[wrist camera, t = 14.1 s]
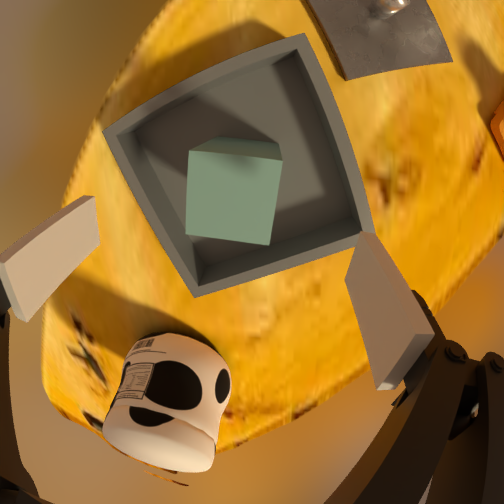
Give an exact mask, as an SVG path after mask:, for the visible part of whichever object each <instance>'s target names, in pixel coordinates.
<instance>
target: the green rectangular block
mask: <svg viewBox="0 0 504 504" xmlns="http://www.w3.org/2000/svg"><path fill="white" fill-rule="evenodd" d="M282 163H283V159H282V155H281V151H280V146H279V144H278V143H271V142H264V141H256V140H248V139H239V138H229V137H219V136H217V137H215V138H213V139H211V140H209V141H207V142H205V143H203V144H201V145H199V146H197V147H195V148H193V149H191V150H189V157H188V174H187V195H186V232H185V234H188V235H195V236H203V237H210V238H218V239H225V240H232V241H240V242H247V243H254V244H261V245H269V244H270V238H271V232H272V226H273V220H274V214H275V207H276V201H277V195H278V189H279V182H280V176H281V170H282Z"/></svg>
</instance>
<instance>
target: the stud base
mask: <svg viewBox="0 0 504 504" xmlns="http://www.w3.org/2000/svg"><path fill="white" fill-rule="evenodd" d="M306 2H307V3H308V5H309V7H310V9H311V10H312V12H313V14H314V16H315V18H316V19H317V21H318V23H319V25H320V27H321V29H322V31H323V33H324V35H325V37H326V39H327V41H328V43H329V45H330V47H331V49H332V51H333V53H334V55H335V58H336V60H337V62H338V64H339V67H340V69H341V71H342V73H343V76H344V78H345V81H348V80H352V79H356V78H360V77H364V76H369V75H373V74H378V73H382V72H387V71H392V70H398V69H404V68H410V67H416V66H423V65H430V64H439V63H448V62H453V60H452V57H451V54H450V52H449V49H448V47H447V44H446V42H445V39H444V37H443V35H442V32H441V30H440V28H439V26H438V23H437V21H436V19H435V17H434V15H433V13H432V11H431V9H430V7H429V5H428V3H427V2H426V0H306Z"/></svg>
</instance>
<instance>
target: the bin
mask: <svg viewBox="0 0 504 504" xmlns="http://www.w3.org/2000/svg"><path fill="white" fill-rule="evenodd" d="M102 132H103V134H104V136H105V139H106V141H107V143H108V145H109V147H110V149H111V151H112V153H113V155H114V157H115V159H116V161H117V163H118V165H119V167H120V169H121V171H122V173H123V175H124V177H125V179H126V181H127V183H128V185H129V187H130V189H131V191H132V193H133V194H134V196H135V198H136V200H137V202H138V204H139V206H140V207H141V209H142V211H143V213H144V215H145V217H146V218H147V220H148V222H149V224H150V225H151V227H152V229H153V231H154V232H155V234H156V236H157V238H158V239H159V241H160V243H161V245H162V246H163V248H164V250H165V251H166V253H167V255H168V256H169V258H170V260H171V261H172V263H173V265H174V266H175V268H176V270H177V271H178V273H179V274H180V276H181V278H182V279H183V281H184V282H185V284H186V286H187V287H188V289H189V290H190V292H191V293H192V295H193V297H194V298H196V297H200V296H203V295H206V294H210V293H213V292H216V291H219V290H223V289H226V288H229V287H232V286H236V285H239V284H242V283H245V282H249V281H252V280H255V279H258V278H261V277H264V276H267V275H271V274H274V273H277V272H280V271H283V270H286V269H289V268H292V267H295V266H298V265H301V264H304V263H307V262H311V261H314V260H317V259H320V258H322V257H325V256H328V255H331V254H334V253H337V252H340V251H343V250H346V249H349V248H352V247H355V246H356V244H357V241H358V237H359V234H360V231H364V232H369V233H374V234H375V229H374V225H373V220H372V216H371V212H370V208H369V204H368V200H367V196H366V192H365V189H364V185H363V182H362V178H361V175H360V171H359V168H358V164H357V161H356V158H355V155H354V152H353V149H352V146H351V143H350V140H349V137H348V134H347V131H346V128H345V125H344V122H343V120H342V117H341V114H340V112H339V109H338V106H337V104H336V101H335V99H334V96H333V94H332V91H331V89H330V87H329V84H328V82H327V79H326V77H325V75H324V73H323V70H322V68H321V66H320V64H319V62H318V59H317V57H316V55H315V53H314V51H313V49H312V47H311V45H310V43H309V41H308V39H307V37H306V35H305V33H302V34H298V35H295V36H291V37H288V38H285V39H282V40H278V41H275V42H272V43H269V44H266V45H264V46H261V47H258V48H255V49H253V50H250V51H247V52H245V53H242V54H240V55H237V56H235V57H232V58H230V59H228V60H225V61H223V62H221V63H218V64H216V65H214V66H212V67H210V68H208V69H205V70H203V71H201V72H199V73H197V74H195V75H193V76H191V77H189V78H187V79H185V80H183V81H181V82H180V83H178V84H176V85H174V86H172V87H170V88H169V89H167V90H165V91H163V92H162V93H160V94H158V95H156V96H155V97H153V98H151V99H150V100H148V101H146V102H145V103H143V104H142V105H140V106H138V107H137V108H135V109H134V110H132V111H131V112H129V113H128V114H126V115H125V116H123V117H122V118H120V119H119V120H117V121H116V122H115V123H113V124H112V125H110V126H109V127H108V128H106V129H105V130H103V131H102ZM217 136H219V137H229V138H239V139H248V140H256V141H264V142H271V143H278V144H279V146H280V151H281V155H282V159H283V163H282V170H281V176H280V182H279V189H278V195H277V201H276V207H275V214H274V220H273V226H272V232H271V238H270V244H269V245H261V244H254V243H247V242H240V241H232V240H225V239H218V238H210V237H203V236H195V235H188V234H185V232H186V195H187V174H188V157H189V150H191V149H193V148H195V147H197V146H199V145H201V144H203V143H205V142H207V141H209V140H211V139H213V138H215V137H217ZM375 235H376V234H375Z"/></svg>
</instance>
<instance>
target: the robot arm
mask: <svg viewBox="0 0 504 504" xmlns="http://www.w3.org/2000/svg"><path fill="white" fill-rule="evenodd" d="M99 245H100V238H99V231H98V223H97V215H96V205H95V196H82V197H80V198H79V199H77V200H75V201H74V202H72V203H71V204H69V205H68V206H66V207H64V208H63V209H61V210H60V211H58V212H57V213H55V214H54V215H52V216H51V217H49V218H48V219H46V220H45V221H44V222H42V223H41V224H39V225H38V226H37V227H35V228H34V229H32V230H31V231H30V232H28V233H27V234H26V235H24V236H23V237H22V238H20V239H19V240H18V241H16V242H15V243H14V244H13V245H11V246H10V247H9V248H7V249H6V250H5V251H4V252H3V253H1V254H0V504H53V503H51V502H48V501H46V500H43V499H41V498H40V497H39V495H38V492H37V489H36V486H35V484H34V481H33V480H32V478H31V476H30V475H29V473H28V472H27V471H26V469H25V468H24V466H23V464H22V462H21V459H20V455H19V450H18V445H17V440H16V435H15V429H14V423H13V416H12V407H11V397H10V385H9V327H10V315H9V313H8V311H7V310H8V309H9V308H10V307H12V309H13V311H14V313H15V315H16V317H17V318H19V319H21V320H23V321H25V322H28V321H29V320H30V319H31V317H32V316H33V315H34V314H35V313H36V311H37V310H38V309H39V308H40V307H41V306H42V304H43V303H44V302H45V301H46V300H47V299H48V298H49V296H50V295H51V294H52V293H53V292H54V291H55V290H56V289H57V288H58V286H59V285H60V284H61V283H62V282H63V281H64V280H65V279H66V278H67V277H68V276H69V275H70V274H71V273H72V272H73V270H74V269H75V268H76V267H77V266H78V265H79V264H80V263H81V262H82V261H83V260H84V259H85V258H86V257H87V256H88V255H89V254H90V253H91V252H92V251H93V250H94V249H95V248H96V247H97V246H99ZM345 283H346V286H347V289H348V292H349V295H350V298H351V301H352V304H353V307H354V310H355V314H356V317H357V320H358V324H359V327H360V330H361V334H362V337H363V341H364V344H365V348H366V351H367V355H368V359H369V363H370V366H371V370H372V374H373V378H374V382H375V386H376V390H390V389H391V390H392V389H396V387H397V386H398V384H400V382H401V381H402V380H404V383H405V386H406V388H405V390H404V391H403V392H402V393H401V394H400V395H399V396H398V398H397V399H396V400H395V401H394V402H393V403H392V404H391V405H392V406H394V407H393V409H392V411H391V413H390V414H389V416H388V417H387V419H386V421H385V423H384V424H383V426H382V428H381V429H380V430H379V432H378V434H377V435H376V437H375V438H374V440H373V441H372V443H371V444H370V446H369V447H368V448H367V450H366V451H365V453H364V454H363V456H362V457H361V458H360V460H359V461H358V462H357V464H356V465H355V466H354V468H353V469H352V470H351V472H350V473H349V474H348V476H347V477H346V478H345V479H344V480H343V482H342V483H341V484H340V485H339V487H338V488H337V489H336V490H335V491H334V492H333V494H332V495H331V496H330V497H329V498H328V499H327V500H326V502H325V503H324V504H418V503H419V501H420V499H421V498H422V496H423V494H424V492H425V490H426V488H427V486H428V484H429V482H430V480H431V478H432V476H433V478H432V481H431V486H430V489H429V493H428V497H427V500H426V503H425V504H504V359H503V358H502V357H501V356H500V355H498V354H496V353H494V352H488V353H486V355H485V356H484V357H483V359H482V360H481V361H476V360H473V359H469V357H468V355H467V353H466V351H465V350H464V348H462V346H461V345H459V344H458V343H456V342H454V341H452V340H446V338H445V336H444V334H443V332H442V331H441V329H440V327H439V325H438V323H437V321H436V320H435V318H434V316H432V315H433V314H432V312H431V311H430V309H428V308H429V307H428V306H427V304H426V302H425V300H424V299H423V298H422V297H421V296H420V295H419V294H418V293H417V292H416V291H415V290H411V289H410V288H409V286H408V284H407V283H406V281H405V279H404V278H403V276H402V274H401V273H400V271H399V270H398V268H397V266H396V265H395V263H394V262H393V260H392V259H391V257H390V256H389V254H388V252H387V251H386V249H385V248H384V246H383V245H382V243H381V242H380V240H379V239H378V237H377V236H376V235H375V234H374V233H369V232H364V231H360V234H359V237H358V241H357V244H356V247H355V250H354V253H353V256H352V259H351V262H350V265H349V268H348V271H347V274H346V277H345ZM477 408H478V414H477V416H476V417H475V416H474V411H475V410H476V409H477Z"/></svg>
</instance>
